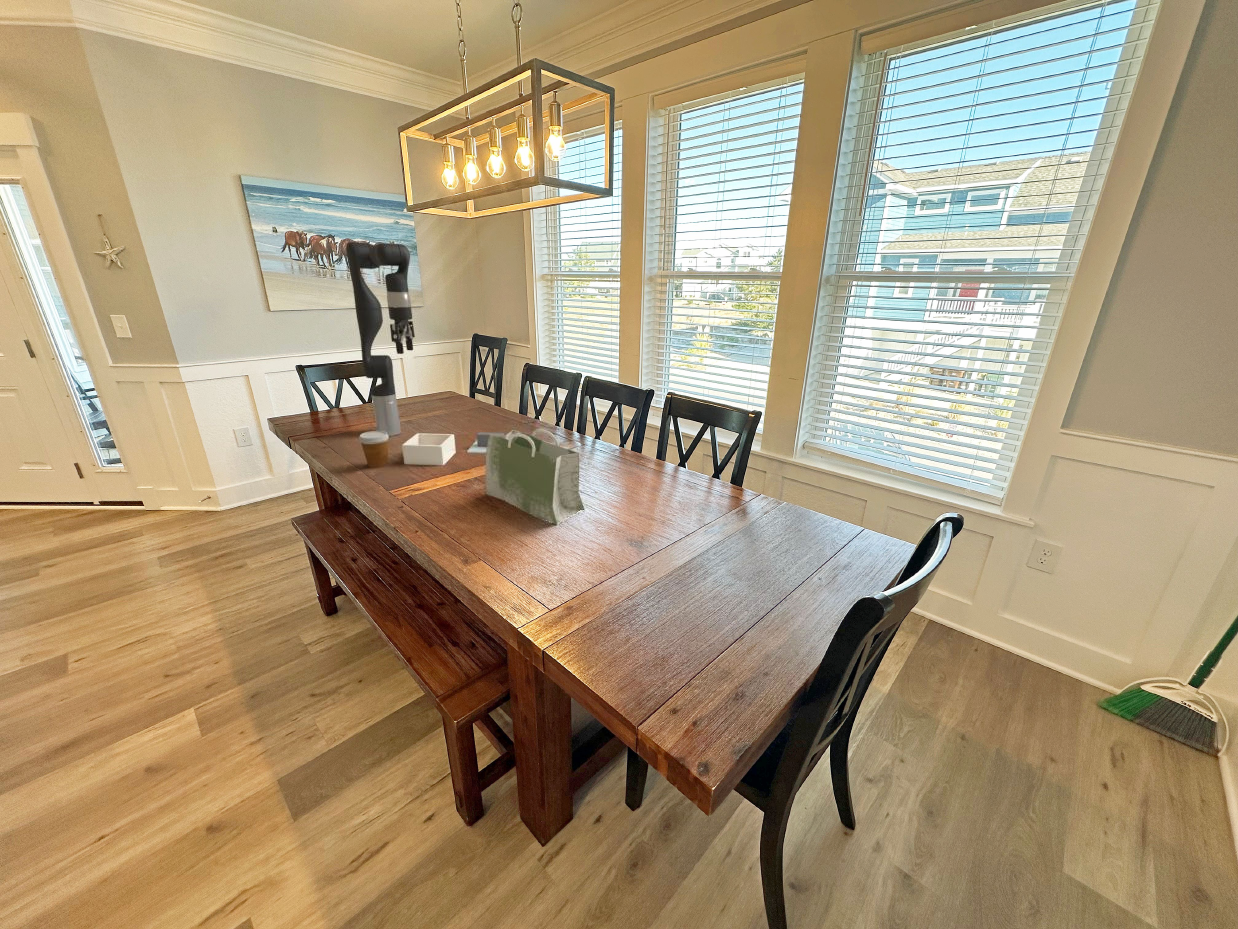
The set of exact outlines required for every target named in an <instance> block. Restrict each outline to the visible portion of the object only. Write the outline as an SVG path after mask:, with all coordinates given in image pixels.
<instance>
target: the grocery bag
mask: <svg viewBox="0 0 1238 929" xmlns="http://www.w3.org/2000/svg"><path fill="white" fill-rule="evenodd" d="M537 433H544V434H546V435H548V436H549V437H551V439H553V441H554V443H551V442H547V441H545V440H542V439H539V438H538V437H536V434H537ZM484 473H485V476H484V477H485V492H486V495H488V496H490V497H494V498H496V499H499V500H502V501H504V500H505V501H504V502H506V503H507V504H510V505H511V506H513V505H514V507H515V506H516V508H517V507H518V508H517V509H519V508H520V509H519V510H521V509H522V510H521V511H523V510H524V511H523V512H525V513H527V514H528V513H529V514H528V515H530V514H532V515H533V516H532V515H531V516H532V517H534V516H536V517H538V518H537V519H539V518H541V519H540V520H542V519H544V520H547V521H550V522H552V523H555V524H557V523H558V522H560V521H561V520H564V519H565V518H568V517H569V516H571V515H573V514H576V513H577V512H578V511H580V510H585V507H584V506H585V505H584V503H583V502H582V498H581V495H580V492H579V489H580V488H579V486H580V453H579V452H577V451H574V450H572V449H569V448H567V447H564V446H562V445H560V443H559V441H558V439H557V438H556V436H555V435H554V434H553V433H552V432H551V431H548V430H546V429H543V428H537V429H534V430H533V432H532V434H528V433H525V432H522V431H521V432H520V431H518V430H514V429H512V430H511V431H510V432H508V433H507V434H506V435H505V434H504V435H493V434H489V438H488V443H487V449H486V454H485V472H484ZM585 511H586V510H585ZM536 517H535V518H536ZM544 520H543V521H544ZM547 521H546V522H547ZM550 522H549V523H550ZM552 523H551V524H552ZM555 524H554V525H555Z"/></svg>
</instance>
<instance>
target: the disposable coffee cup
mask: <svg viewBox="0 0 1238 929" xmlns="http://www.w3.org/2000/svg"><path fill="white" fill-rule="evenodd" d="M389 437H390V436H388V435H387V433H386V432H384V431H377V430H372V431H366V432H363V433H361V434H360V435H359V438H358V441H359V442H360V444H361V447H362V451H363V453H364V457H365V460H366V463H367V466H368V467H369V468H372V469H373V468H375V469H377V468H382V467H386V466H387V465H388V464H389Z"/></svg>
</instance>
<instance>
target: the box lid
mask: <svg viewBox="0 0 1238 929" xmlns="http://www.w3.org/2000/svg"><path fill="white" fill-rule="evenodd" d="M489 434H493V435H505V432H483V431H479V432H478V433H477V434H476V439H475V442H474V443H473V444H472V445H471V446H470V447H469V449H467V450H466V454H485V455H486V449H487V443H488V438H489Z"/></svg>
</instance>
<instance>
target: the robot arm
mask: <svg viewBox="0 0 1238 929" xmlns="http://www.w3.org/2000/svg"><path fill="white" fill-rule="evenodd" d="M345 249H346V250H345V251H346V253H345V254H346V259H347V264H348V268H349V273H350V278H351V282H352V290H353V296H354V297H353V298H354V307H355V313H356V320H357V326H358V330H359V332H358V333H359V340H360V348H361V358H362V359H361V361H362V370H363V374H364V376H365V378H367V379H384V381H383V382H381V383H380V384H378V385H375V386H372V387H371V388H370V395H371V400H372V408H373V413H374V420H375V426H376V431H384V432H386V433H387V435H388V436H389V437H393V436H397V435H400V434H401V423H400V416H399V415H400V414H399V408H398V402H397V394H396V393H397V392H396V387H395V380H394V378H395V377H394V367H393V366H394V365H393V360H392V357H391V356H390V355H388V354H383V355H382V354H378V355H376V354H375V355H374V354H373V355H372V347H373V343H374V341H375V338H376V337H377V335H378V333H379V332H380V330H381V328H382V326H383V324H384V323H383V322H384V318H383V311H382V305H381V303H380V301H379V299H378V297H377V296H376V295H375V294H374V293H373V291H372V290H371V289H370V287H369V286H368V284H367V283H366V282H365V280H364V277H363V274H362V271H361V269H364V270H365V269H366V270H367V269H368V270H375V269H378V268H380V267H382V266H383V267H387V266H388V267H389V266H390V267H397V270H396V271H395V272H391V273H387V274H386V275H385V277H384V280H385V288H386V300H387V301H386V302H387V307H388V308H387V310H388V316H389V319H390V320H391V321H394V323H391V324H389V328H390V329H389V330H390V338H391V342H393V343H394V344H395V348H396V354H398V355H404V353H405V352H404V345H403V340H404V338H405V347H406V351H414V344H413V340H414V338H415V337H416V336H415V328H414V322H413V321H412V319H413V311H412V302H411V296H410V291H409V285H408V284H409V283H408V276H409V274H408V273H409V267H410V263H411V254H410V250H409V249H408V247H407V246H406V245H404V244H403V243H402V244H401V243H388V242H387V243H386V242H379V243H378V244H372V243H369V242H356V241H349V242H347V243H346V245H345Z"/></svg>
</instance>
